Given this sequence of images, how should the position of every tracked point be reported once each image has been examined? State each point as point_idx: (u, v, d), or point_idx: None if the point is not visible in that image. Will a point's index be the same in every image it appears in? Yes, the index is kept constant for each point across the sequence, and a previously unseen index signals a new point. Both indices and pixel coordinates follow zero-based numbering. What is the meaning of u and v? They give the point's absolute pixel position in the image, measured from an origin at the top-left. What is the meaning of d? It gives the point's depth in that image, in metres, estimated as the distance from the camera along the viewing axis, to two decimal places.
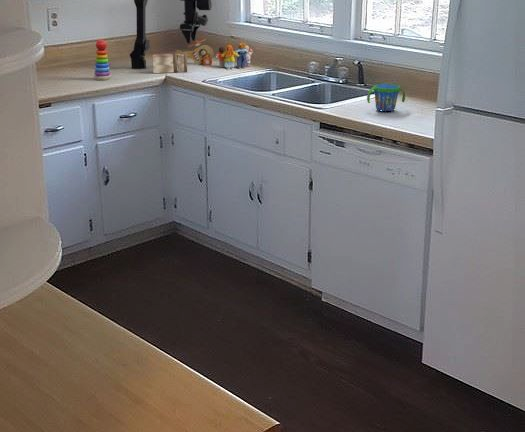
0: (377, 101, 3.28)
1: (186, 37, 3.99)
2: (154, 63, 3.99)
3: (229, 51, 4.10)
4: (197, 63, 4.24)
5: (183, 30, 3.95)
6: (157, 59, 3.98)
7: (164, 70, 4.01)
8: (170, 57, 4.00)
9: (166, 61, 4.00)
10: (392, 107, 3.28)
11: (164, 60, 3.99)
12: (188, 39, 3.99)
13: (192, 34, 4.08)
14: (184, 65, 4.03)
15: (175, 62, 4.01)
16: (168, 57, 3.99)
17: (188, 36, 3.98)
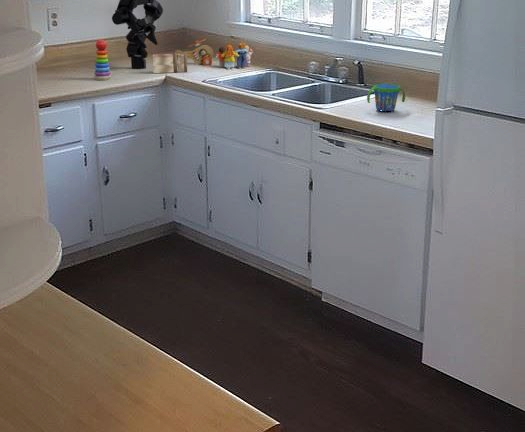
0: (377, 101, 3.28)
1: (140, 44, 3.95)
2: (154, 63, 3.99)
3: (229, 51, 4.10)
4: (197, 63, 4.24)
5: (131, 40, 3.94)
6: (157, 59, 3.98)
7: (164, 70, 4.01)
8: (170, 57, 4.00)
9: (166, 61, 4.00)
10: (392, 107, 3.28)
11: (164, 60, 3.99)
12: (142, 44, 3.95)
13: (152, 40, 4.03)
14: (184, 65, 4.03)
15: (175, 62, 4.01)
16: (168, 57, 3.99)
17: (140, 42, 3.94)
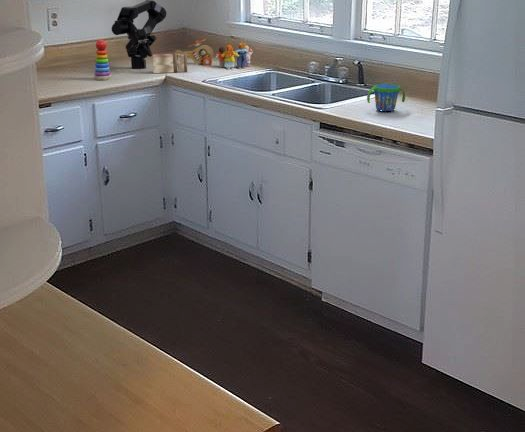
0: (377, 101, 3.28)
1: (145, 52, 4.00)
2: (154, 63, 3.99)
3: (229, 51, 4.10)
4: (197, 63, 4.24)
5: (136, 48, 3.99)
6: (157, 59, 3.98)
7: (164, 70, 4.01)
8: (170, 57, 4.00)
9: (166, 61, 4.00)
10: (392, 107, 3.28)
11: (164, 60, 3.99)
12: (147, 53, 4.00)
13: None
14: (184, 65, 4.03)
15: (175, 62, 4.01)
16: (168, 57, 3.99)
17: (145, 50, 4.00)
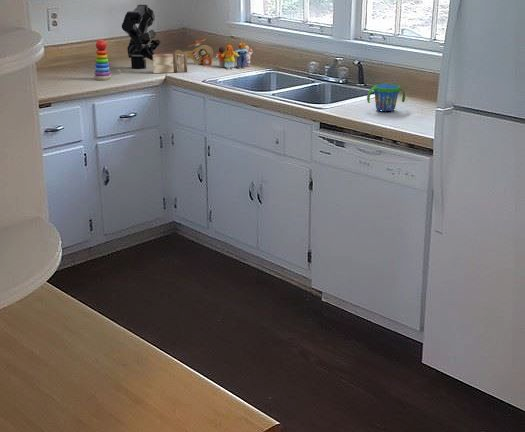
0: (377, 101, 3.28)
1: (148, 57, 3.99)
2: (154, 63, 3.99)
3: (229, 51, 4.10)
4: (197, 63, 4.24)
5: (140, 52, 3.98)
6: (157, 59, 3.98)
7: (164, 70, 4.01)
8: (170, 57, 4.00)
9: (166, 61, 4.00)
10: (392, 107, 3.28)
11: (164, 60, 3.99)
12: (150, 57, 3.99)
13: None
14: (184, 65, 4.03)
15: (175, 62, 4.01)
16: (168, 57, 3.99)
17: (148, 54, 3.99)
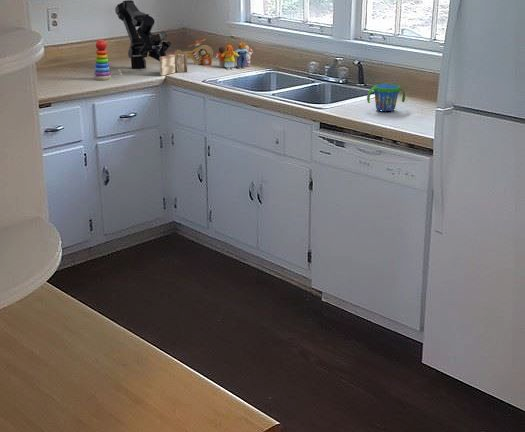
0: (377, 101, 3.28)
1: (157, 58, 3.95)
2: (162, 65, 3.93)
3: (229, 51, 4.10)
4: (197, 63, 4.24)
5: (149, 54, 3.94)
6: (164, 61, 3.94)
7: (169, 71, 3.98)
8: (173, 57, 3.99)
9: (170, 62, 3.98)
10: (392, 107, 3.28)
11: (169, 61, 3.97)
12: None
13: None
14: (184, 65, 4.03)
15: (176, 62, 4.01)
16: (171, 58, 3.98)
17: (158, 56, 3.95)
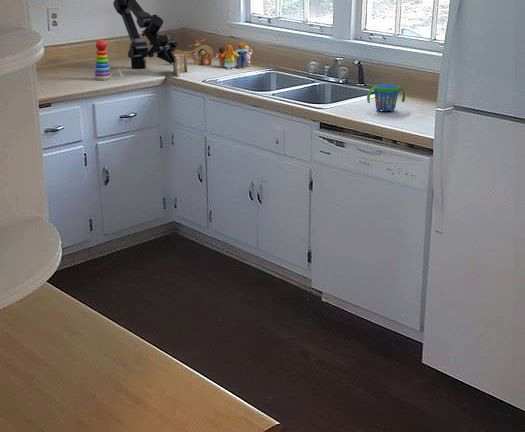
0: (377, 101, 3.28)
1: (165, 59, 3.94)
2: (179, 66, 3.92)
3: (229, 51, 4.10)
4: (197, 63, 4.24)
5: (157, 55, 3.93)
6: None
7: None
8: None
9: None
10: (392, 107, 3.28)
11: None
12: (168, 59, 3.94)
13: (170, 58, 3.97)
14: (184, 65, 4.03)
15: None
16: None
17: (166, 57, 3.94)
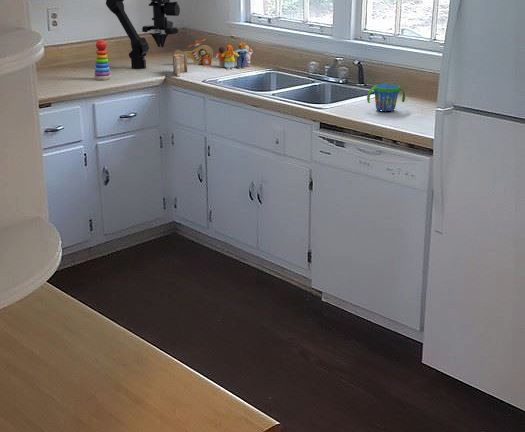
0: (377, 101, 3.28)
1: (162, 41, 4.04)
2: (179, 66, 3.92)
3: (229, 51, 4.10)
4: (197, 63, 4.24)
5: (165, 34, 4.00)
6: None
7: None
8: None
9: None
10: (392, 107, 3.28)
11: None
12: (163, 43, 4.05)
13: (158, 41, 4.05)
14: (184, 65, 4.03)
15: None
16: None
17: (164, 40, 4.04)
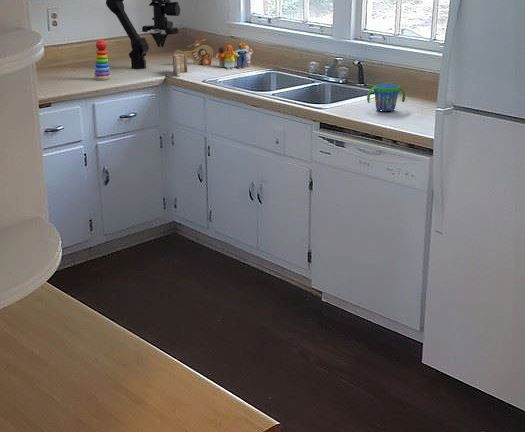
0: (377, 101, 3.28)
1: (162, 41, 4.04)
2: (179, 66, 3.92)
3: (229, 51, 4.10)
4: (197, 63, 4.24)
5: (165, 34, 4.01)
6: None
7: None
8: None
9: None
10: (392, 107, 3.28)
11: None
12: (163, 43, 4.05)
13: (158, 40, 4.05)
14: (184, 65, 4.03)
15: None
16: None
17: (164, 40, 4.04)
